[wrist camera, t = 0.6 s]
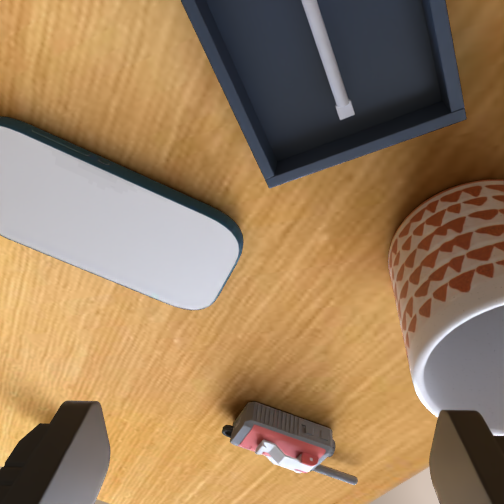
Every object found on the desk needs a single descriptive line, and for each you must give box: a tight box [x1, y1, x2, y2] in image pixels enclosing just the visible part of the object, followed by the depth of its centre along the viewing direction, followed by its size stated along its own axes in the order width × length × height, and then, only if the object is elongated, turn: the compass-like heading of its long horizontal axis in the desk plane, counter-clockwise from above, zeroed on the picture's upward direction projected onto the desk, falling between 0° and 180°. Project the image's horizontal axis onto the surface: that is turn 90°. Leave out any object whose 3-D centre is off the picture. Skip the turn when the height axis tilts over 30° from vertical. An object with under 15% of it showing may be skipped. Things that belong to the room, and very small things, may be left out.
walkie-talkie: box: [222, 402, 358, 485], centre depth 53 cm, size 9×4×20 cm
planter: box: [388, 179, 504, 436], centre depth 30 cm, size 14×14×13 cm
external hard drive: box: [0, 116, 243, 310], centre depth 37 cm, size 24×12×2 cm, turn 66°
